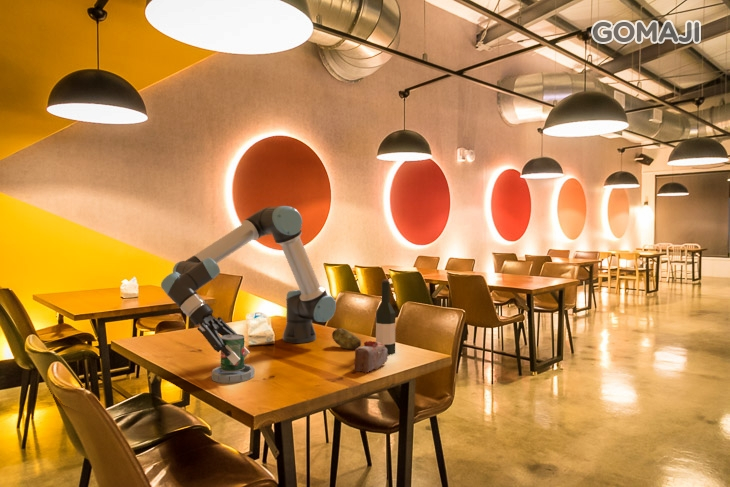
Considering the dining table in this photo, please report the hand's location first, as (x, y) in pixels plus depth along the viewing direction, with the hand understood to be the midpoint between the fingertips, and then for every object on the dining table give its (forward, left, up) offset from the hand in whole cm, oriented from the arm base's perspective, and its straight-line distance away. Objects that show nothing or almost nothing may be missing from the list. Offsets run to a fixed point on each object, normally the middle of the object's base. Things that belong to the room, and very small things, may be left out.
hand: (242, 358), depth 158 cm
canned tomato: (+3, -2, -4) cm, 5 cm away
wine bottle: (-59, -13, -7) cm, 61 cm away
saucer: (+3, -2, -7) cm, 7 cm away
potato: (-46, -26, -7) cm, 53 cm away
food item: (-46, +5, -7) cm, 46 cm away
